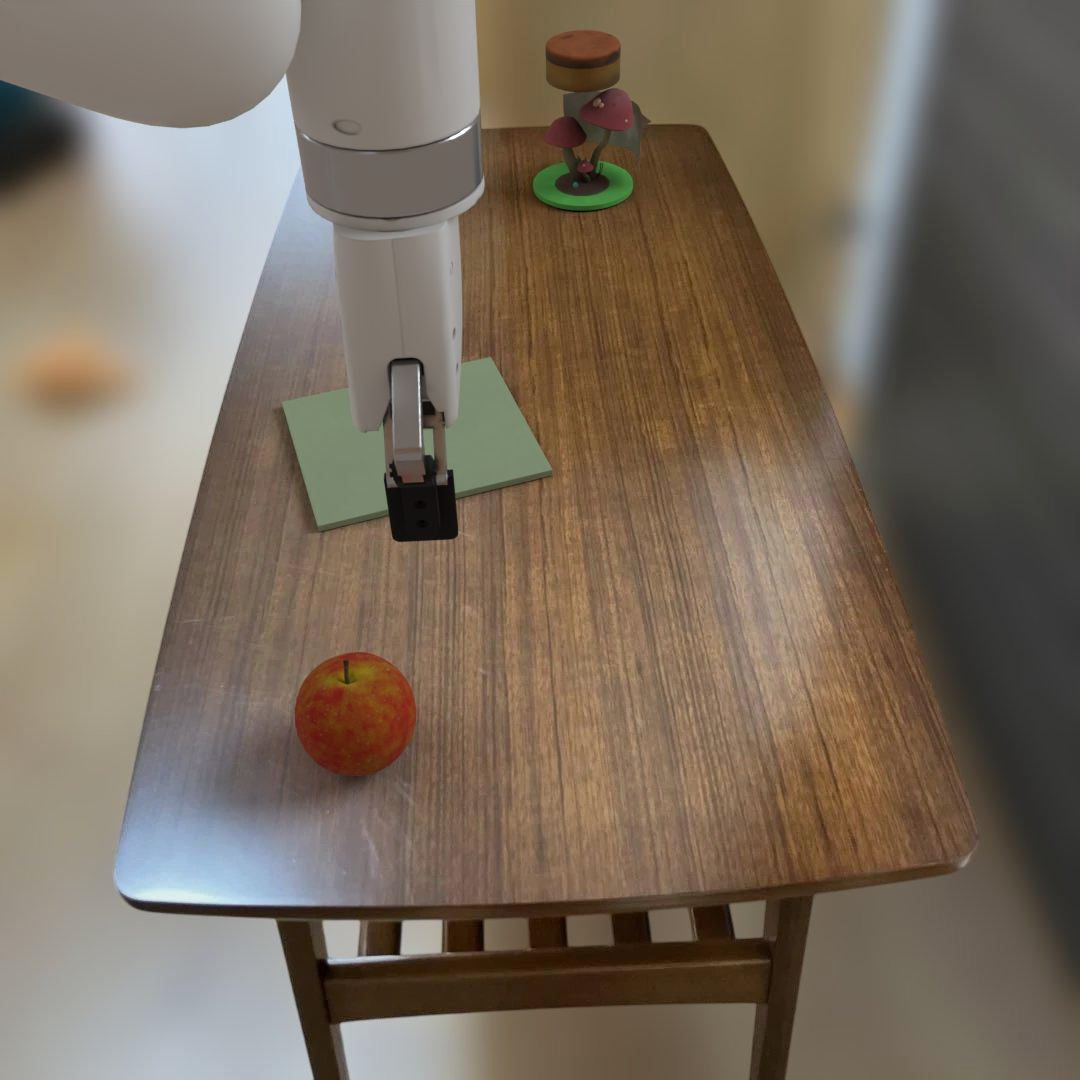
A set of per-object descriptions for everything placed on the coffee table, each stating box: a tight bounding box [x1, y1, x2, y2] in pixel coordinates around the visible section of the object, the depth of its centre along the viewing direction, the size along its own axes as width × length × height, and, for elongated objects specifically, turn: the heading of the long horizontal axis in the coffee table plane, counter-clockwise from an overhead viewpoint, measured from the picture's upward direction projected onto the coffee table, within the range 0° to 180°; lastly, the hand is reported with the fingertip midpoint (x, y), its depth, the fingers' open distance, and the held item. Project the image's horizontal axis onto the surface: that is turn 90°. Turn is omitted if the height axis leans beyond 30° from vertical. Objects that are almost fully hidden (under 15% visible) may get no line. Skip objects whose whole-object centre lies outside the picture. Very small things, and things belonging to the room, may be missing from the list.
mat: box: [281, 356, 553, 533], centre depth 88 cm, size 18×16×1 cm
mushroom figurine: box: [532, 29, 652, 212], centre depth 114 cm, size 12×13×15 cm
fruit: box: [294, 651, 417, 777], centre depth 64 cm, size 7×7×8 cm
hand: (427, 472), depth 58 cm, fingers open, 9 cm apart
